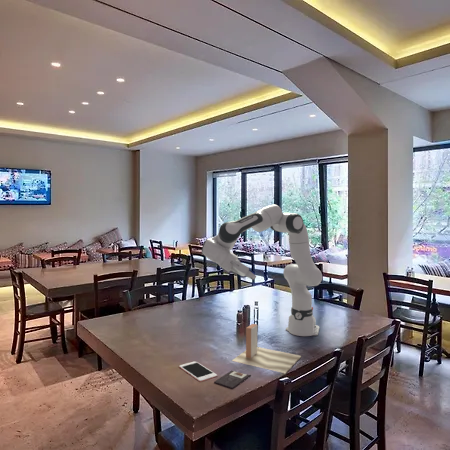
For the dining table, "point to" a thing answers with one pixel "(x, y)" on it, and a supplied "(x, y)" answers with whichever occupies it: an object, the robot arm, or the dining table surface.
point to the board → (269, 360)
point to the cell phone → (198, 371)
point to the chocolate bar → (232, 379)
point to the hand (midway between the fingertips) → (254, 278)
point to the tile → (251, 340)
